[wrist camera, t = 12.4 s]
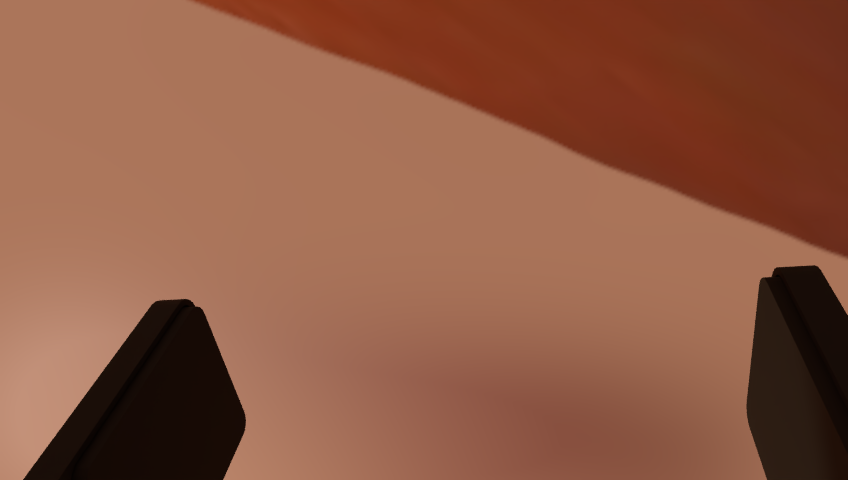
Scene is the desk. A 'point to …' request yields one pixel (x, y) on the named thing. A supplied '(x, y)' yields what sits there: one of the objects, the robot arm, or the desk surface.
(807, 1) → the desk surface
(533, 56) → the desk surface
